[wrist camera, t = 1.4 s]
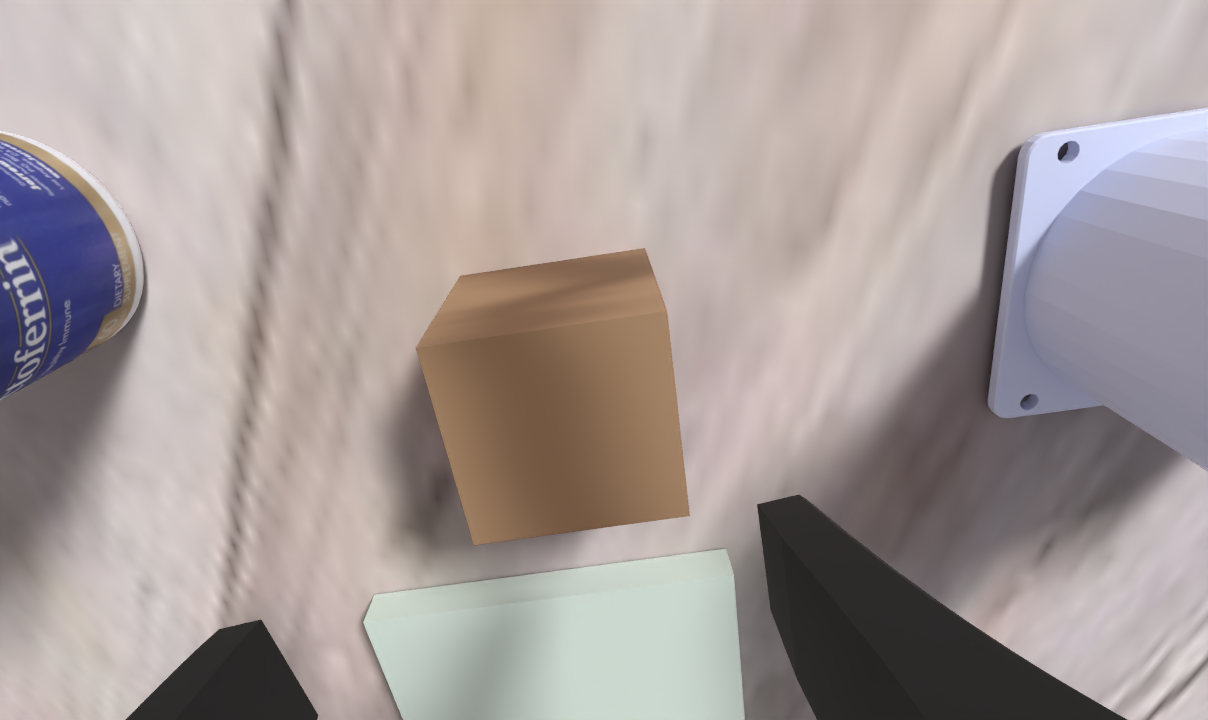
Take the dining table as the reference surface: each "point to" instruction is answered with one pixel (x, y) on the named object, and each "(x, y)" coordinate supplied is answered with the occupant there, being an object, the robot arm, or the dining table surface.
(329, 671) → the dining table surface
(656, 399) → the walnut cube
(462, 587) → the sage tile
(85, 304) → the pill bottle
